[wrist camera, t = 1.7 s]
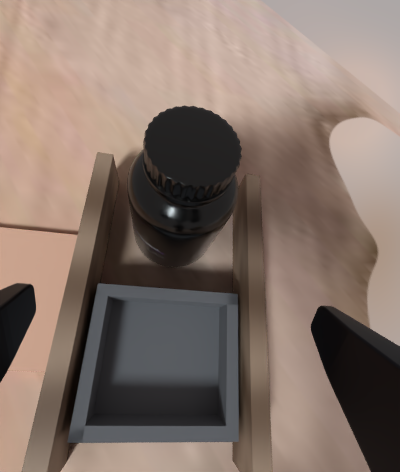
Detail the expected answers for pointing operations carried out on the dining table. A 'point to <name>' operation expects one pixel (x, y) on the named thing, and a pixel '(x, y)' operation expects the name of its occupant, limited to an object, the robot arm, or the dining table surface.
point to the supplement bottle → (183, 184)
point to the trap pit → (159, 367)
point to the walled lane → (80, 312)
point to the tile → (37, 286)
